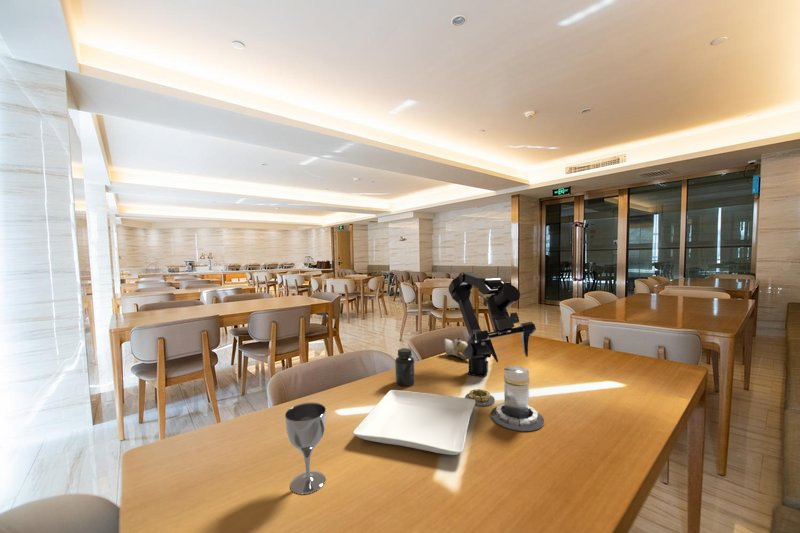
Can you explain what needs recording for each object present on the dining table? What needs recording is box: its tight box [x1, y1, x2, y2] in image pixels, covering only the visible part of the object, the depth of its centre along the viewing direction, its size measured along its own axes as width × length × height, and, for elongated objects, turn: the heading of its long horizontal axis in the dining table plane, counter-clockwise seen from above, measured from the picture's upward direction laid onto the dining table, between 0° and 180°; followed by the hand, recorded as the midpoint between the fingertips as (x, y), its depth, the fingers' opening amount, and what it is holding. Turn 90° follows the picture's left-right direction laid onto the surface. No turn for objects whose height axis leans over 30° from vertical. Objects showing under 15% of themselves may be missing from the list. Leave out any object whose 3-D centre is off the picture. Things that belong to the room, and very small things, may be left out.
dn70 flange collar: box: [490, 402, 545, 433], centre depth 93 cm, size 14×14×2 cm
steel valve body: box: [503, 365, 530, 419], centre depth 93 cm, size 7×7×13 cm
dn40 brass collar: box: [464, 388, 495, 407], centre depth 105 cm, size 9×9×2 cm
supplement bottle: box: [394, 347, 416, 388], centre depth 119 cm, size 7×7×12 cm
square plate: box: [352, 389, 476, 456], centre depth 90 cm, size 27×27×4 cm
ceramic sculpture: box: [443, 337, 469, 360], centre depth 147 cm, size 11×9×15 cm
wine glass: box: [284, 402, 327, 495], centre depth 69 cm, size 8×8×15 cm
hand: (512, 359), depth 105 cm, fingers open, 9 cm apart
